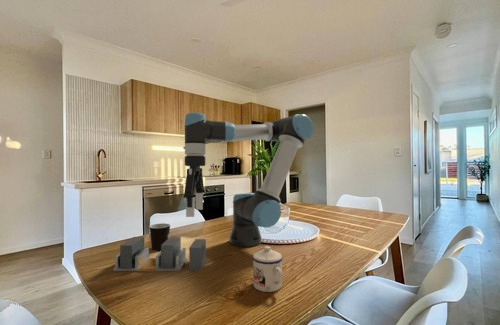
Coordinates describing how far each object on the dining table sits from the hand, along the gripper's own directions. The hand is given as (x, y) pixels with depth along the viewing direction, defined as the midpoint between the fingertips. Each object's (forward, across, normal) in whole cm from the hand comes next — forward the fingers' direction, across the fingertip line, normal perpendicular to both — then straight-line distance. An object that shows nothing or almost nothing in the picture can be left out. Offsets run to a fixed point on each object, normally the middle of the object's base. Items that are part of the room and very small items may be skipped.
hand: (195, 212), depth 92 cm
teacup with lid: (+19, +17, +27) cm, 37 cm away
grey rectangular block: (+19, +1, +1) cm, 19 cm away
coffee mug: (+19, -18, -19) cm, 32 cm away
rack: (+19, +2, -15) cm, 24 cm away
